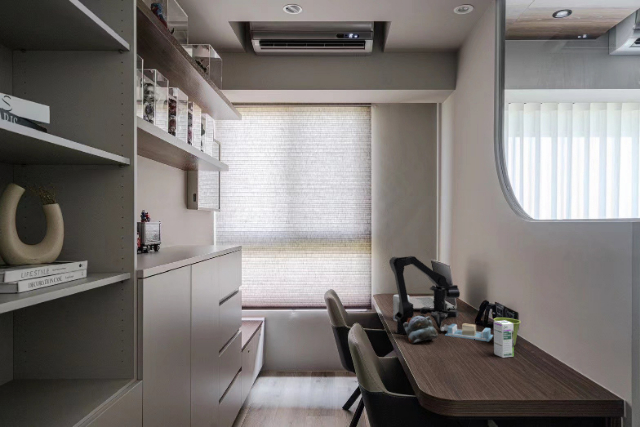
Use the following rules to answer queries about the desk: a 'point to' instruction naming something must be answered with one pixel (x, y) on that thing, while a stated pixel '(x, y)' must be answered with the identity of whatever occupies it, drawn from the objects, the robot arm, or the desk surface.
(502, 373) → the desk surface
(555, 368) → the desk surface
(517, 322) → the plant pot
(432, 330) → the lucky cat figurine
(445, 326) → the sliding jaw
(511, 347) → the syrup box
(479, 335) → the vise base
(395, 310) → the supplement tub
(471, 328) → the beech block
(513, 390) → the desk surface
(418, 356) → the desk surface
